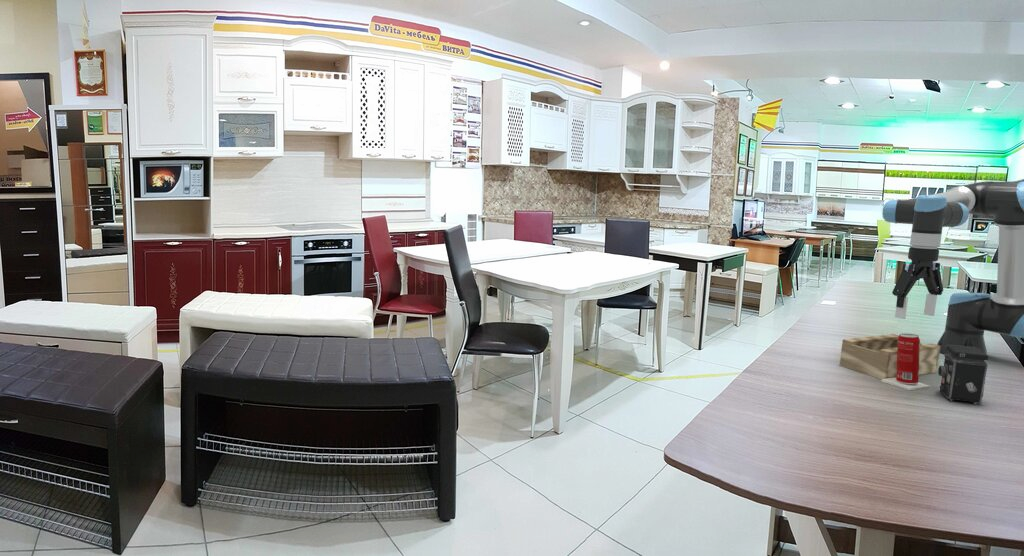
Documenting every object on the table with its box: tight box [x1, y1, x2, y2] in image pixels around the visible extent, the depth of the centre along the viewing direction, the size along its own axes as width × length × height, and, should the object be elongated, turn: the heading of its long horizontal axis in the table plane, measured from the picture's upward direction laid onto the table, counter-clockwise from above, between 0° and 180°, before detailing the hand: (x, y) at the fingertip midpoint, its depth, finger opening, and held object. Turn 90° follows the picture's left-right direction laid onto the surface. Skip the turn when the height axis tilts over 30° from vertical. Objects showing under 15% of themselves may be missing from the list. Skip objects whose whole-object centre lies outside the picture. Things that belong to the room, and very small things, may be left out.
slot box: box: [839, 333, 941, 380], centre depth 202 cm, size 26×16×9 cm, turn 114°
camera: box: [937, 345, 989, 405], centre depth 175 cm, size 10×11×15 cm
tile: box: [880, 377, 930, 391], centre depth 187 cm, size 9×9×1 cm
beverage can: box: [896, 333, 921, 384], centre depth 186 cm, size 6×6×15 cm
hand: (914, 316), depth 184 cm, fingers open, 13 cm apart
